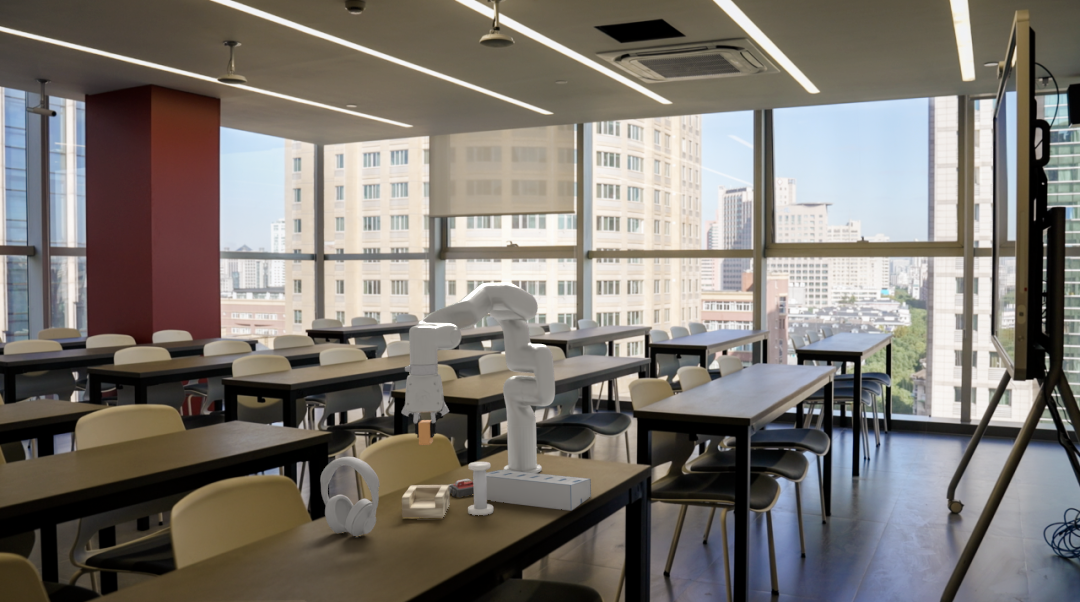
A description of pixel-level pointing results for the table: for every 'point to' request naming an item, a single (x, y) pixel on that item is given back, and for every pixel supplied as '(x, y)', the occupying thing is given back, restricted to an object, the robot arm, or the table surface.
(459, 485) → the toolbox
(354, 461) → the headphones
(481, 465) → the bobbin
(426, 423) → the orange rectangular block
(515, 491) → the warehouse
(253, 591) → the table surface
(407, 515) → the beige armchair
